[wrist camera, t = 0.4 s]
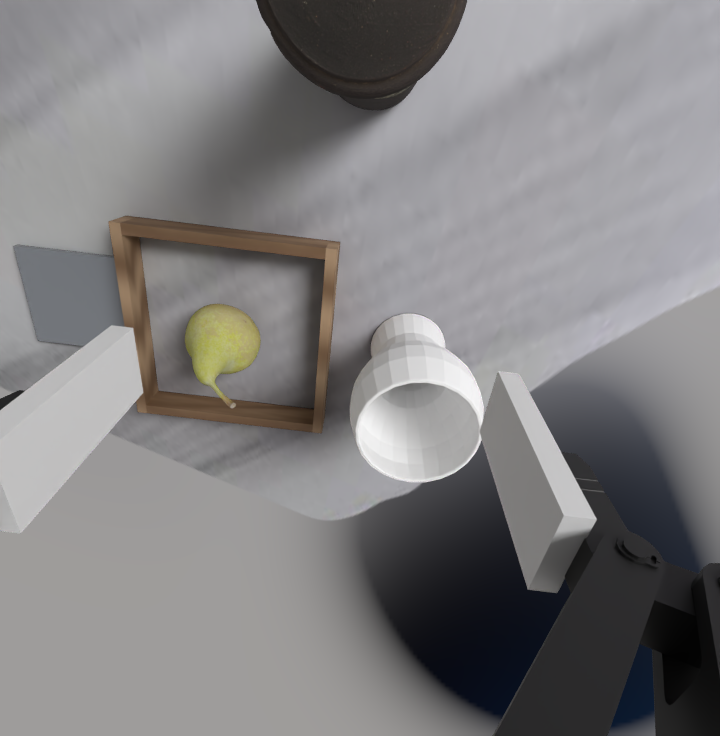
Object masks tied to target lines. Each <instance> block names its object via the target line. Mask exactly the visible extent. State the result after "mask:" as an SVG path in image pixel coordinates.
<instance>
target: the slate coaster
mask: <svg viewBox="0 0 720 736" xmlns="http://www.w3.org/2000/svg"><path fill="white" fill-rule="evenodd" d="M13 247H14V250H15V254H16V258H17V262H18V266H19V270H20V274H21V277H22V281H23V285H24V289H25V293H26V297H27V300H28V304H29V308H30V312H31V316H32V320H33V324H34V327H35V331H36V335H37V339H38V341H45V342H54V343H62V344H71V345H79V346H85V345H86V344H88V343H89V342H90V341H92V340H93V339H94V338H95V337H97V336H98V335H99V334H101V333H102V332H103V331H105V330H106V329H107V328H109V327H110V326H111V325H113V326H122V327H125V326H124V319H123V313H122V306H121V300H120V293H119V287H118V280H117V274H116V267H115V261H114V256H107V255H99V254H91V253H83V252H74V251H66V250H58V249H50V248H41V247H33V246H25V245H15V246H13Z"/></svg>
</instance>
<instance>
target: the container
mask: <svg viewBox="0 0 720 736" xmlns="http://www.w3.org/2000/svg"><path fill="white" fill-rule="evenodd" d="M256 1H257V5H258V8H259V11H260V13H261V16H262V18H263V20H264V22H265V23H266V25H267V26H268V28H269V29H270V31H271V35H272V37H273V39H274V41H275V43H276V45H277V46H278V48H279V49H280V51H281V52H282V54H283V55H284V56H285V58H286V59H287V60H288V61H289V62H290V63H291V64H292V65H293V66H294V67H295V68H296V69H297V70H298V71H299V72H300V73H301V74H302V75H304V76H305V77H306V78H307V79H309V80H310V81H311V82H313V83H314V84H316V85H318V86H320V87H321V88H323V89H325V90H327V91H329V92H332V93H334V94H337V95H340V96H341V97H342V98H343V99H344V100H346V101H347V102H349V103H350V104H352V105H354V106H357V107H359V108H362V109H367V110H382V109H386V108H390V107H392V106H394V105H396V104H398V103H399V102H401V101H402V100H403V99H404V98H405V97H406V96H407V95H408V94H409V93H410V92H411V90H412V89H413V87H414V85H415V84H416V83H417V81H418V80H419V79H421V78H422V77H423V76H424V75H425V74H426V73H427V72H429V71H430V70H431V68H432V67H433V66H434V65H435V64H436V63H437V62H438V60H439V59H440V58H441V56H442V55H443V54H444V53H445V51H446V50H447V48H448V46H449V45H450V43H451V41H452V39H453V37H454V35H455V33H456V31H457V29H458V27H459V24H460V22H461V19H462V16H463V13H464V10H465V7H466V3H467V0H256Z"/></svg>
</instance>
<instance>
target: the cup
mask: <svg viewBox="0 0 720 736" xmlns="http://www.w3.org/2000/svg"><path fill="white" fill-rule="evenodd" d="M371 356H372V359H370V360H369V362H368V363H367V364H366V365H365V366H364V368H363V369H362V370H361V372H360V374H359V376H358V377H357V379H356V381H355V382H354V387H353V391H352V395H351V402H350V422H351V427H352V430H353V434H354V437H355V441H356V443H357V446H358V448H359V451H360V453H361V455H362V456H363V457H364V459H365V460H366V461H367V462H368V464H369V465H370V466H372V467H373V468H374V469H376V470H377V471H379V472H380V473H381V474H384V475H386V476H388V477H391V478H393V479H396V480H401V481H406V482H428V481H432V480H438V479H442V478H443V477H446V476H448V475H451V474H453V473H455V472H456V471H458V470H459V469H460V468H462V467H463V466H464V465H466V464H467V463H468V462H469V460H470V459H471V458H472V457H473V455H474V454H475V453H476V451H477V449H478V447H479V444H480V442H481V440H482V439H481V435H480V428H481V425H482V422H483V412H484V406H483V401H482V397H481V393H480V390H479V388H478V385H477V382H476V380H475V378H474V376H473V375H472V373H471V371H470V370H469V368H468V367H467V366H466V365H465V364H464V363H463V362H462V361H461V360H460V359H459V358H457V357H456V356H455V355H454V354H452V353H451V352H450V351H448V350H447V349H445V340H444V337H443V334H442V332H441V330H440V329H439V327H438V326H437V325H436V324H435V323H434V322H433V321H432V320H430V319H428V318H426V317H424V316H421V315H417V314H401V315H397V316H394V317H391V318H390V319H388V320H386V321H385V322H383V323H382V324H381V325H380V326H379V327H378V328H377V330H376V332H375V334H374V335H373V338H372V342H371Z"/></svg>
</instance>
